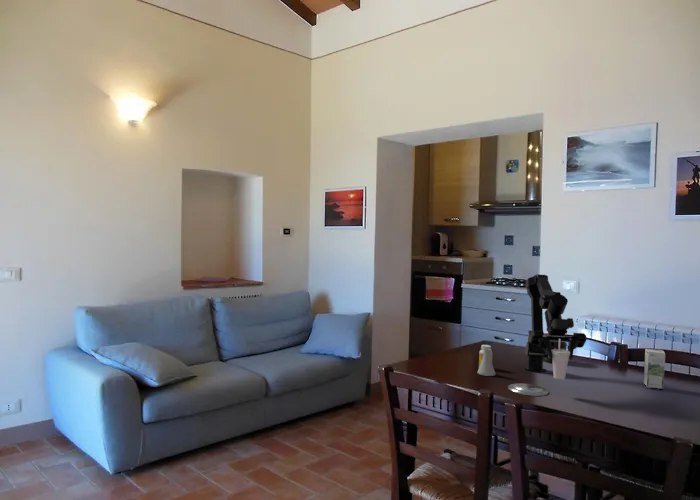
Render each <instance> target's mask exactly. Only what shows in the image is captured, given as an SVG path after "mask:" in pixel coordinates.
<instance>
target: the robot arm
mask: <svg viewBox="0 0 700 500" xmlns="http://www.w3.org/2000/svg"><path fill="white" fill-rule="evenodd" d="M525 289H526V293H527V295H528V297H529V298H530V304H531V307H530V309H531V332H530V335H529V337H528V338H527V342H526V345H525V348H524V355H526V356H527V357H528V364H527V365H528V366H527V367H525V368H524V369H525V370H527V371H529V372H530V371H531V372H536V373H542V372H546V371H547V369H546V368H543V367H544V361H543V357H548V356H549V357H550V359H552V352H551V348H550V344H549V341H558V342H559V339H561V340H560V342H566V343H567V348H566V350H567V351H569V352H570V355H569V359H568V360H570V361H572V360H573V355H574V350H575V349H577V348H581V349H582V348H583V347H584V346H585V344H586V342H587V339H588V338H587V335H586V333H584V332H573V333H572V335H571V336H569V335H568V336H566V334H567V333H568V330H569V329H572V328H573V327H574V324H575V323H574V319H573V318H571V317H567V318H563V316H562V315H564V312H565V311H566V307H567V305H568V298H567V297H566V296H565V295H562V294H561V292H559V291H554V289H553V288H552V285H551V283H550V281H549V276H548V275H546V274H534V276H530V277H527V279H526V281H525ZM543 310H545V311H543ZM543 313H544V314H543ZM543 316H544V317H543ZM543 318H544V319H543ZM544 320H545V322H546V323H545V324H546V332H547V333H545V332H544ZM547 334H548V335H547Z"/></svg>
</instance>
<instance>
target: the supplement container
mask: <svg viewBox="0 0 700 500" xmlns="http://www.w3.org/2000/svg"><path fill="white" fill-rule="evenodd" d="M546 334H547V335H548V333H546ZM549 344H550V348H551V350H552V349H558V346H559V342H558V341H549ZM567 347H568V342H560V349H562V350H567ZM543 362H546V363H550V364H553V362H552V359H550V357H549V356H548V357H543Z"/></svg>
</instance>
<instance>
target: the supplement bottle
mask: <svg viewBox="0 0 700 500" xmlns="http://www.w3.org/2000/svg"><path fill="white" fill-rule="evenodd" d="M483 349H490V350H491V361H492V362H493V351H492V346H491V345H489V344H481V347H480V350H479V353H478V354H479V356H478V357H479V358H478V359H479V360H478V368H479V367H480V365H481V362H482V360H483V356H484V351H483Z"/></svg>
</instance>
